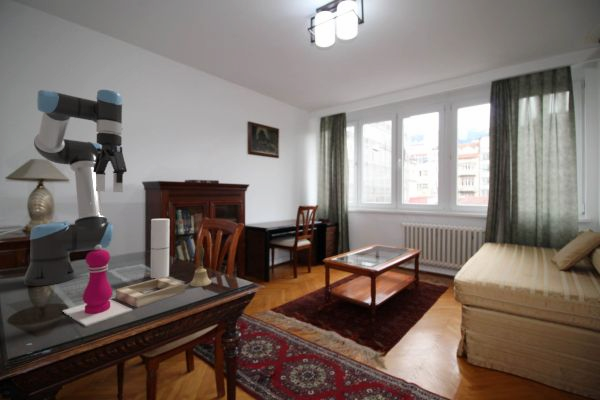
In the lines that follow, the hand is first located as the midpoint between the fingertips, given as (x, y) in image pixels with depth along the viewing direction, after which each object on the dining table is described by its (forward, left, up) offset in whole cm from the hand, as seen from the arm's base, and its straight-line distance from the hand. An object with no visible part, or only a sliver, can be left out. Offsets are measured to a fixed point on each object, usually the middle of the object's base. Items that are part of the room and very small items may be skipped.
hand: (108, 191), depth 99 cm
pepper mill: (+18, -10, -36) cm, 42 cm away
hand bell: (+22, +24, -37) cm, 49 cm away
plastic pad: (+18, -10, -37) cm, 42 cm away
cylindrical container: (0, +20, -37) cm, 42 cm away
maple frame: (+18, +6, -37) cm, 41 cm away
